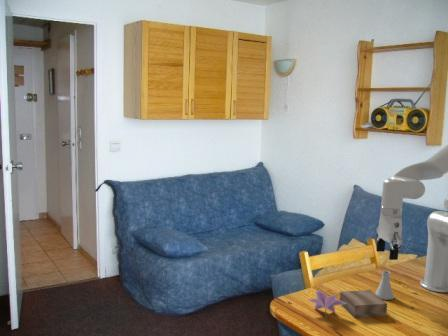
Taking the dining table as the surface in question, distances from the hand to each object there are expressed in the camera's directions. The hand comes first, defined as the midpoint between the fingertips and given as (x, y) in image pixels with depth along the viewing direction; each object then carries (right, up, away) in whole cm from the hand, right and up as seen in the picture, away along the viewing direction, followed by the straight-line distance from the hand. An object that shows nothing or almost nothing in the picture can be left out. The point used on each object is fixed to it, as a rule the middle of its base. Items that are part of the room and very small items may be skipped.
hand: (386, 255), depth 179 cm
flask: (0, -17, +3) cm, 17 cm away
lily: (-27, -18, -15) cm, 36 cm away
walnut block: (-12, -18, -10) cm, 24 cm away
